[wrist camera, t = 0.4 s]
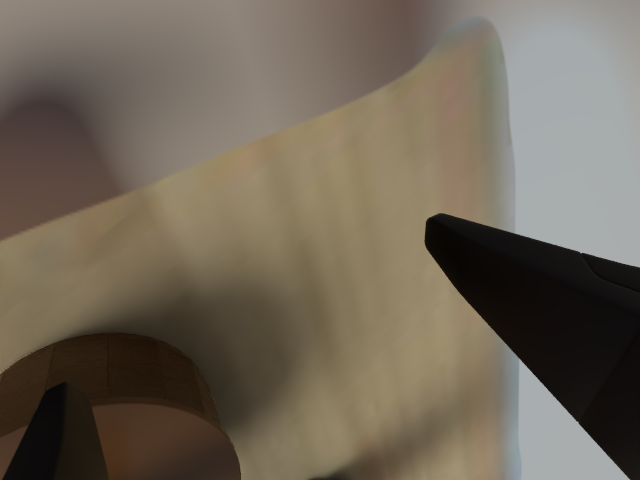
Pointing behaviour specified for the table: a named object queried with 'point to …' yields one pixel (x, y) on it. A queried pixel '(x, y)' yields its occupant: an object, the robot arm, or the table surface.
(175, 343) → the table surface
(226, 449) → the lid
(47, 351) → the bowl
